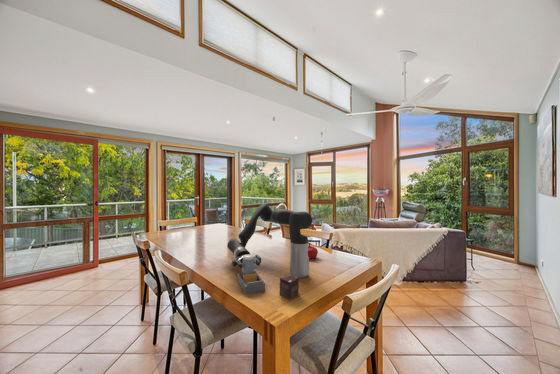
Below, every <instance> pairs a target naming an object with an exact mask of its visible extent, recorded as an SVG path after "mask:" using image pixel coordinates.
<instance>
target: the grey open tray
mask: <svg viewBox="0 0 560 374" xmlns="http://www.w3.org/2000/svg"><path fill="white" fill-rule="evenodd" d="M254 273H257V271H256V270H254ZM237 282H238V284H239V286H240V287H241V289H242V291H243V293H244V294H245V295H249V294H253V293H260V292H265V291H266V282H265V281H264V279H262V277H261V276H260V274H259V273H257V281H255V282H249V283H247V284H246V283H245V282H244V280H243V278H242V275H241V273H240V272H238V273H237Z"/></svg>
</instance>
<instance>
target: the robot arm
mask: <svg viewBox="0 0 560 374" xmlns="http://www.w3.org/2000/svg"><path fill="white" fill-rule="evenodd" d="M259 218H260V219H261V220H262V221H263V222H267V223H269V222H271V223H272V222H273V223H276V224H278V225H279V224H280V225H285V226H286V225H288V227H289V229H288V231H289V238H290V243H289V244H290V247H289V248H290V249H289V253H290V254H289V275H292V276H295V277H298V278H299V279H301V278H302V279H303V278H306V277H307V276H309V275H310V259H309V257H308V246H309V238H308V236H307V235H305V234H301V230H306V229H309V228H310V227H311V226H312V225H313V217H312V216H311V214H310V213H309V212H307V211H293V210H289V209H285V208H276V209H273V210H272V208H271V207H270V206H269V204H267V203H265V202H264V203H262V204H260V205H259V206H257V209H256V210H255V211H254V213H253V215H251V218H250V219H249V221H248V222H247V224H246V225H245V227H244V228H243V229H242V230H241V231H240V233H239V234H238V239H239V240H238V239H237V238H231V239H230V240H229V241H228V242H227V248H228V250H229V251H230V252H231V253H232V254H233V257H231V265H232V266H233V267H238V268H239V269H243V255H247V254H251V253H250V251H249V250H248V249H247V248H246V246H247V244H248V242H249V240H250V239H251V238H252V237H253V236H254V234H255V232H256V229H257V228H256V227H257V222H258V221H259V220H258V219H259ZM261 263H262V257H261V256H260V255H258V254H255V255H254V265H256V266H257V267H260V265H261Z"/></svg>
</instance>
